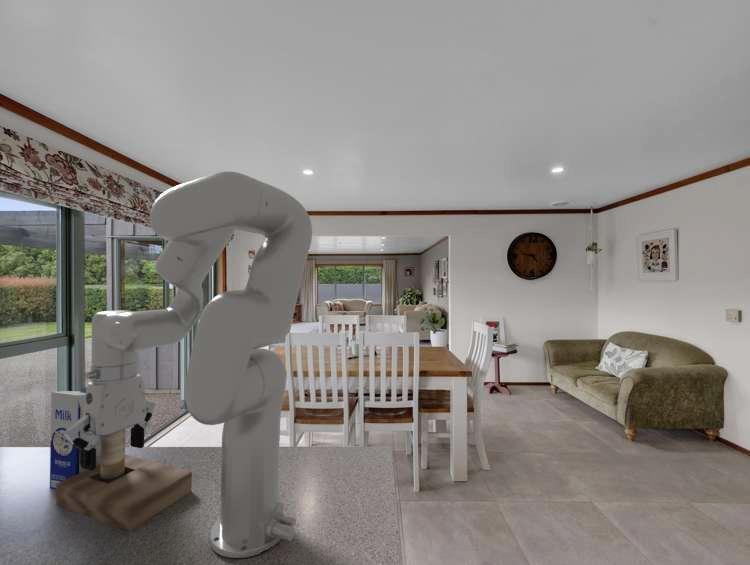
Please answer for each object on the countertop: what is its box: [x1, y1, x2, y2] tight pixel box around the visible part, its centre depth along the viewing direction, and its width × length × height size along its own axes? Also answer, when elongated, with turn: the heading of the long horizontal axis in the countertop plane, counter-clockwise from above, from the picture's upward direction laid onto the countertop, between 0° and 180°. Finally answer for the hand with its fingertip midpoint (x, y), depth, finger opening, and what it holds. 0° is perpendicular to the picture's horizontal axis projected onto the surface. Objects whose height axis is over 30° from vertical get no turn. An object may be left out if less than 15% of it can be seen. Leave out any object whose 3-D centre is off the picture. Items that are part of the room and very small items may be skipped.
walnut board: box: [55, 454, 193, 532], centre depth 73 cm, size 20×13×4 cm, turn 70°
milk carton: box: [49, 386, 101, 490], centre depth 78 cm, size 7×7×20 cm
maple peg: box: [100, 429, 126, 484], centre depth 74 cm, size 4×4×12 cm
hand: (114, 457), depth 74 cm, fingers open, 9 cm apart
